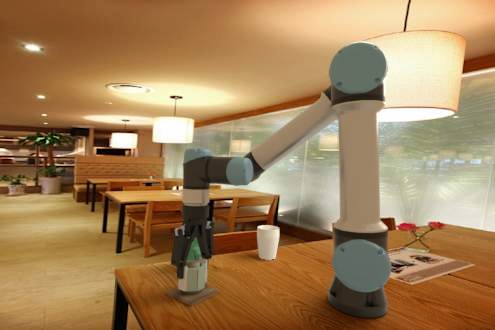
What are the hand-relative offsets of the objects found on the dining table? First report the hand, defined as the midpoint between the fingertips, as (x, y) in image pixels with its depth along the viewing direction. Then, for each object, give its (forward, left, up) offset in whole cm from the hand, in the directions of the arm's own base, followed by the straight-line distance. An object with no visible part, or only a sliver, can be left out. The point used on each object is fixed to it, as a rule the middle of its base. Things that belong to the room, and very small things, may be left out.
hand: (192, 284), depth 82 cm
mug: (+12, -12, -3) cm, 17 cm away
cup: (+1, -41, -3) cm, 41 cm away
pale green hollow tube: (0, 0, 0) cm, 0 cm away
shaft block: (0, 0, -3) cm, 3 cm away
